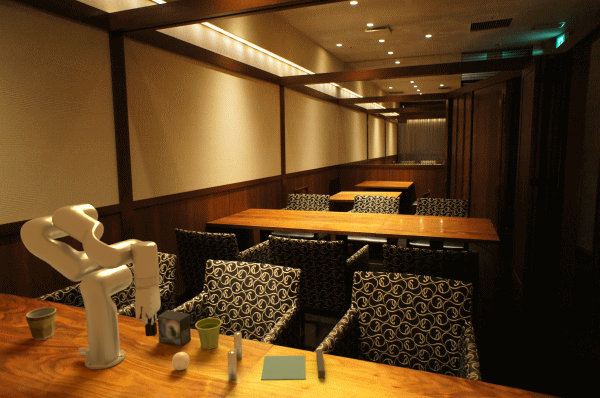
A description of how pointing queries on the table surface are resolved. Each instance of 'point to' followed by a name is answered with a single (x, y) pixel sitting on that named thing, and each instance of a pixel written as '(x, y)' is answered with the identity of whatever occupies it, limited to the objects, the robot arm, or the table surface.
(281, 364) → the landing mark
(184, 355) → the ball
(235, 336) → the post
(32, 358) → the table surface
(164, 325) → the small box
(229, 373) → the post
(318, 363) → the wall
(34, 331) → the ceramic cup
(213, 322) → the plant pot
